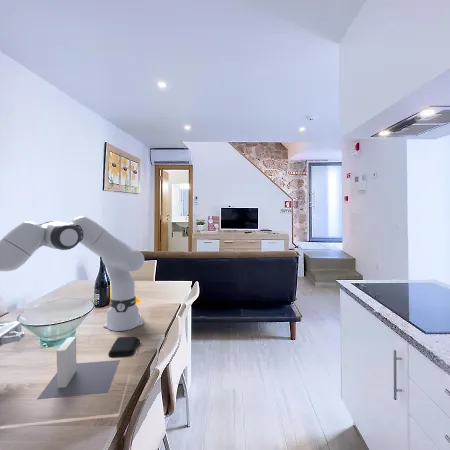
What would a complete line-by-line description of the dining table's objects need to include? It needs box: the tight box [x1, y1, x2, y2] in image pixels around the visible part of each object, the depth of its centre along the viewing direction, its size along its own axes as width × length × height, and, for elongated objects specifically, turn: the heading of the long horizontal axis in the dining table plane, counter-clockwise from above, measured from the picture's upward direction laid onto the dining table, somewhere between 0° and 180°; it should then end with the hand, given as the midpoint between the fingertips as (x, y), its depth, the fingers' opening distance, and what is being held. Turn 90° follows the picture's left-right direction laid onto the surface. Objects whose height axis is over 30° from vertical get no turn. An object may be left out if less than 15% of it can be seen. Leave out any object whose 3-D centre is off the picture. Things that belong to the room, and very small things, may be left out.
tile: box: [56, 336, 77, 388], centre depth 97 cm, size 10×3×12 cm, turn 9°
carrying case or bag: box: [108, 336, 141, 358], centre depth 120 cm, size 11×3×15 cm
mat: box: [37, 359, 121, 400], centre depth 98 cm, size 20×20×1 cm
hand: (22, 336), depth 94 cm, fingers closed
